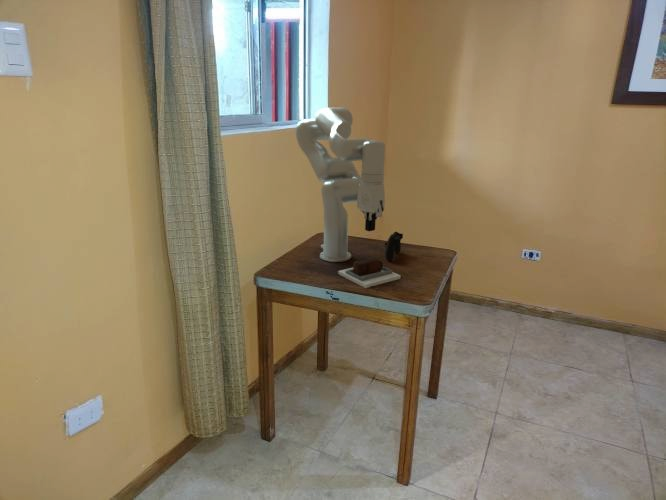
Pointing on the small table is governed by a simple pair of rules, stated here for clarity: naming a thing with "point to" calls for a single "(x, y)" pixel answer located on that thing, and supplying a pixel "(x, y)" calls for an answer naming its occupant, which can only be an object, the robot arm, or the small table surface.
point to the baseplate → (370, 277)
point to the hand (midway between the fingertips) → (370, 230)
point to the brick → (367, 266)
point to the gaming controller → (393, 245)
